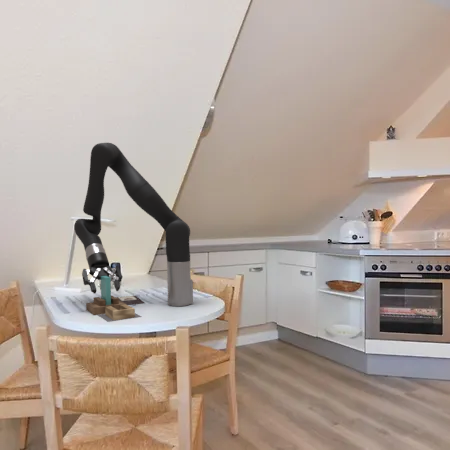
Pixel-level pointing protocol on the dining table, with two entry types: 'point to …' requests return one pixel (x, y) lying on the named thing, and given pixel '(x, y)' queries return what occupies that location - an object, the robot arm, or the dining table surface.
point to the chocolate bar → (130, 300)
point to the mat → (115, 320)
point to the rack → (120, 312)
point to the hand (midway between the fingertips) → (106, 291)
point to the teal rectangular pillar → (106, 289)
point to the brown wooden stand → (102, 305)
